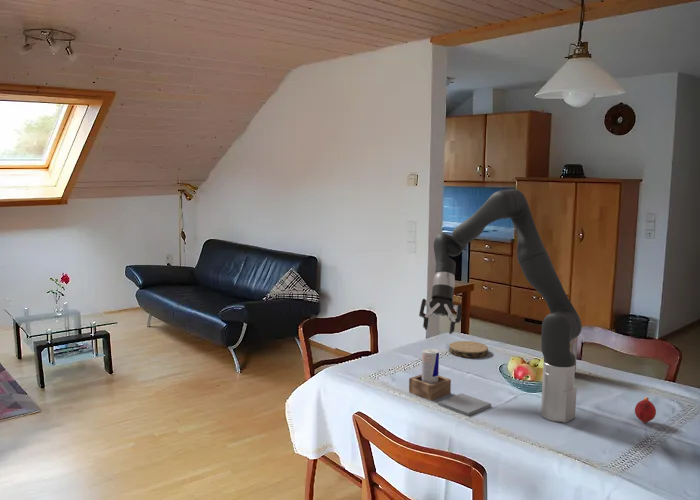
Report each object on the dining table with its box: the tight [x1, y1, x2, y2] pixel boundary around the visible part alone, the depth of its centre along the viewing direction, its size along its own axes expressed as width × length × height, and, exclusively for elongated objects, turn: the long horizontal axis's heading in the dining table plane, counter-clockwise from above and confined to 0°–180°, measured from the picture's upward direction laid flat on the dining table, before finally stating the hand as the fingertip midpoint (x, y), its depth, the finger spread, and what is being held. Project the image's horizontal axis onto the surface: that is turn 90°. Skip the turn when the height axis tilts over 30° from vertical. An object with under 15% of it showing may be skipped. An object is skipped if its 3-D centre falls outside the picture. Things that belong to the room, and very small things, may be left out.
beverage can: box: [421, 348, 440, 384], centre depth 207 cm, size 6×6×15 cm
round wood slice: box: [448, 340, 489, 359], centre depth 255 cm, size 16×16×3 cm
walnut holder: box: [408, 373, 452, 401], centre depth 208 cm, size 10×10×5 cm
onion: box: [634, 396, 657, 424], centre depth 184 cm, size 6×6×8 cm
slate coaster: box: [438, 392, 492, 417], centre depth 197 cm, size 12×12×1 cm
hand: (438, 331), depth 209 cm, fingers open, 8 cm apart
